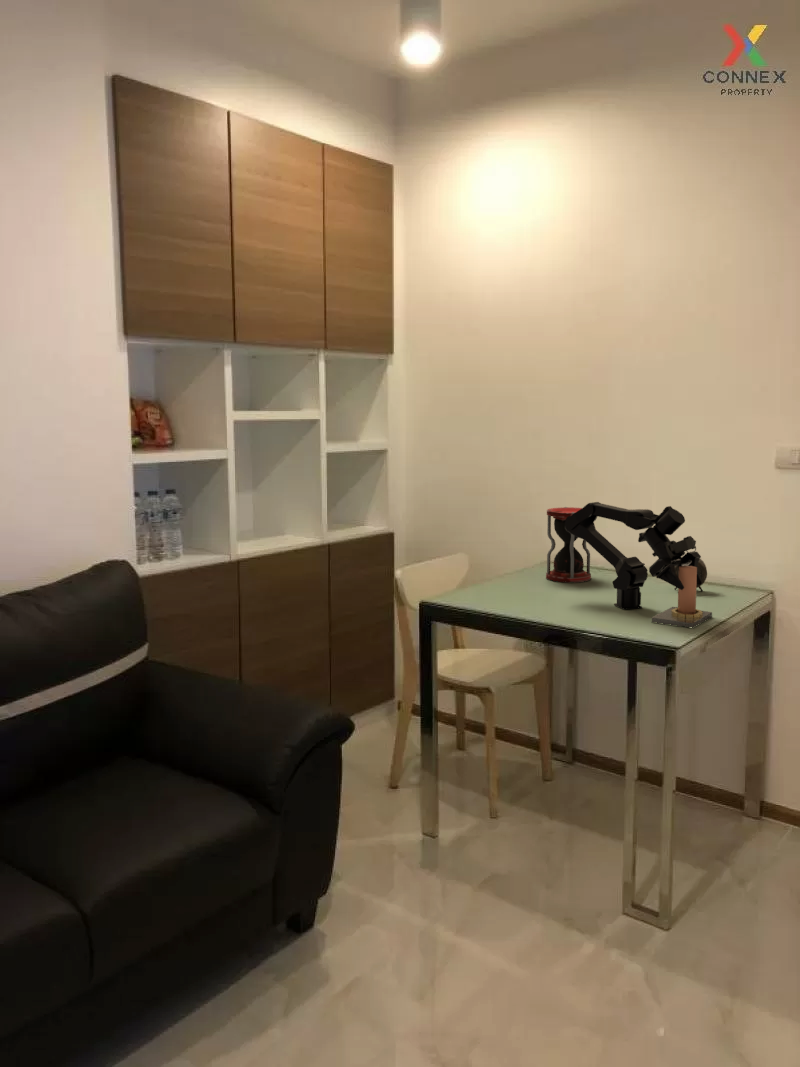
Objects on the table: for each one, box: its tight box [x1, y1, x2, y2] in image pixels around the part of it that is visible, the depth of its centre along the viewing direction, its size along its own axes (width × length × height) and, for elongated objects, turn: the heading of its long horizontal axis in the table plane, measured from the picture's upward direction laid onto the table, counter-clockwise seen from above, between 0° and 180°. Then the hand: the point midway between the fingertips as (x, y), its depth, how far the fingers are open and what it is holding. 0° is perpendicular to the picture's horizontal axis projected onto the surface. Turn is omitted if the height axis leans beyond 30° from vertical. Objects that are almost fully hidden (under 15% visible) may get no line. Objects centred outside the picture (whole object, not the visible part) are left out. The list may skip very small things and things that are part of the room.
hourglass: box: [545, 506, 592, 583], centre depth 317 cm, size 16×16×25 cm
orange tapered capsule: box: [677, 566, 697, 614], centre depth 258 cm, size 5×5×14 cm
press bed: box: [651, 606, 713, 629], centre depth 259 cm, size 16×12×2 cm
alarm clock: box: [674, 545, 708, 592], centre depth 294 cm, size 11×5×16 cm, turn 74°
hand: (692, 586), depth 256 cm, fingers open, 9 cm apart
